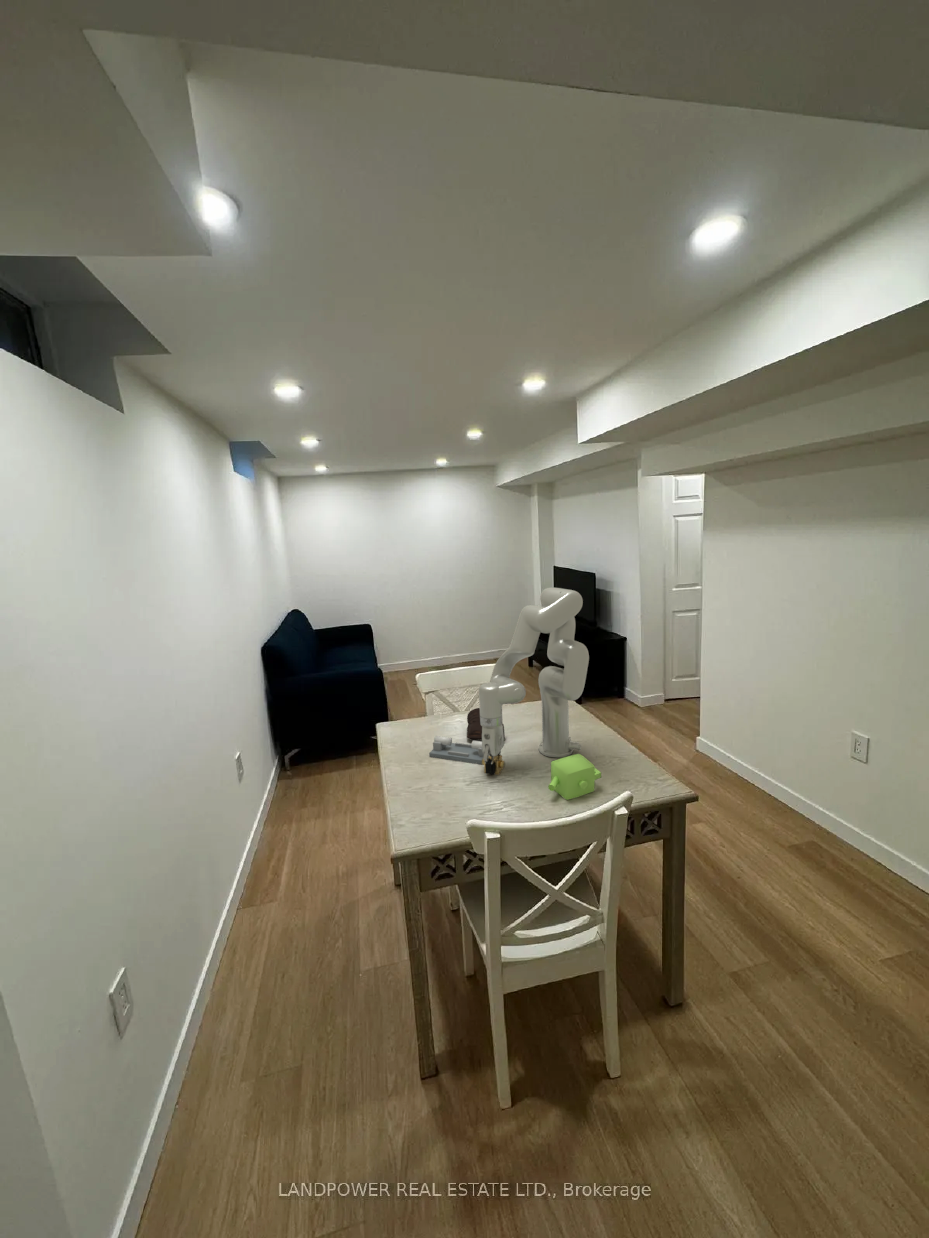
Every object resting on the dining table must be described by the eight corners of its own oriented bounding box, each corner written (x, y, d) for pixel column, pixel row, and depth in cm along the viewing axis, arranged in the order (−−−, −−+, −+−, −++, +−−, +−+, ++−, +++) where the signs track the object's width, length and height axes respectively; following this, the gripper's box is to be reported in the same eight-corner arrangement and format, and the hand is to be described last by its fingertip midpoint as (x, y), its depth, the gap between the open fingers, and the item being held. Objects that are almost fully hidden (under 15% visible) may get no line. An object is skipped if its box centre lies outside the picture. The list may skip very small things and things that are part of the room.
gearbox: (556, 808, 145) (556, 780, 143) (538, 791, 154) (538, 764, 152) (605, 792, 152) (606, 764, 149) (586, 776, 161) (586, 750, 158)
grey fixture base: (494, 752, 181) (494, 737, 180) (485, 764, 172) (484, 749, 171) (440, 745, 190) (440, 730, 189) (429, 756, 181) (428, 741, 180)
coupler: (505, 769, 169) (505, 755, 168) (501, 775, 165) (501, 761, 164) (485, 766, 172) (485, 753, 171) (481, 772, 168) (480, 758, 167)
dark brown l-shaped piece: (503, 726, 186) (502, 705, 200) (464, 729, 187) (465, 708, 201) (505, 747, 189) (504, 725, 203) (467, 750, 191) (468, 728, 205)
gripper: (493, 731, 155) (495, 783, 159) (509, 711, 171) (511, 759, 174) (471, 728, 158) (474, 779, 162) (489, 709, 174) (491, 756, 177)
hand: (493, 768), depth 168 cm, fingers open, 5 cm apart
